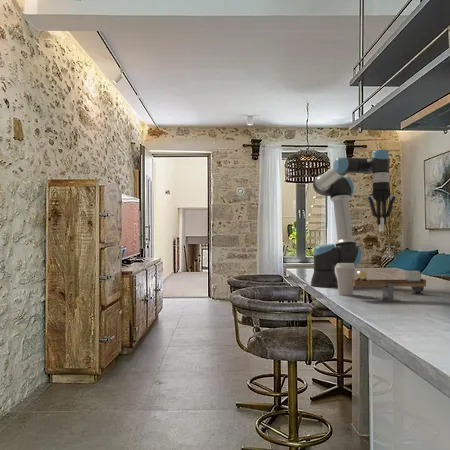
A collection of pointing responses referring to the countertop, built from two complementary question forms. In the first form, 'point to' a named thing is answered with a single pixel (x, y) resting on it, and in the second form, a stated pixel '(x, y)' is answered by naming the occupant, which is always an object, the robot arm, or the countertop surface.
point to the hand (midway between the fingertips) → (381, 231)
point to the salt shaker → (417, 289)
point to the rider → (412, 276)
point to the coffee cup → (345, 278)
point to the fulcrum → (388, 294)
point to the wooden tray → (385, 282)
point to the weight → (361, 275)
